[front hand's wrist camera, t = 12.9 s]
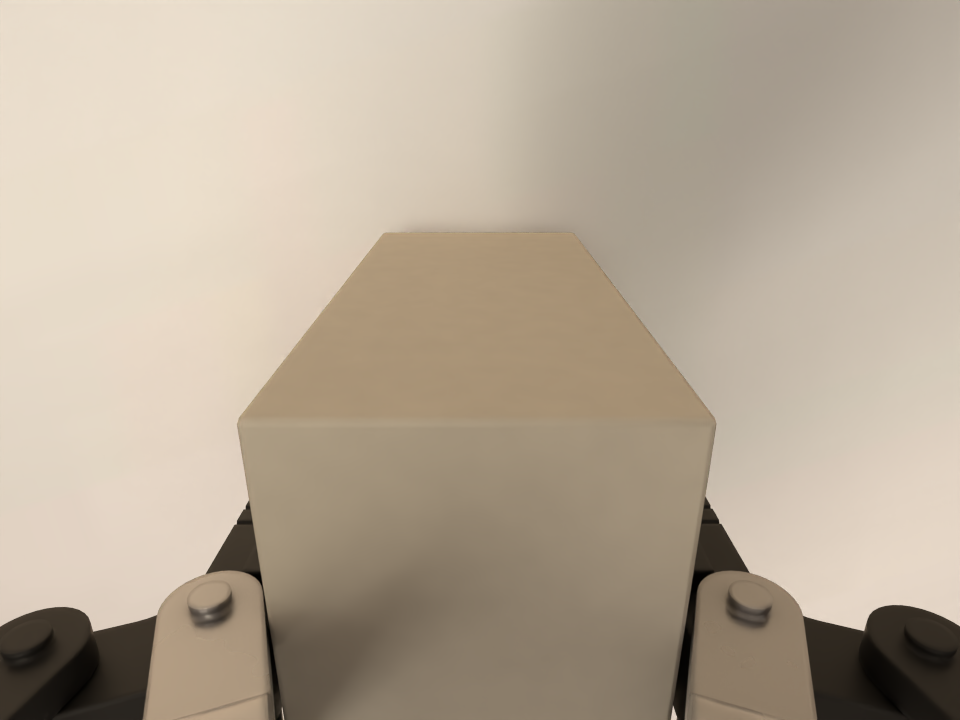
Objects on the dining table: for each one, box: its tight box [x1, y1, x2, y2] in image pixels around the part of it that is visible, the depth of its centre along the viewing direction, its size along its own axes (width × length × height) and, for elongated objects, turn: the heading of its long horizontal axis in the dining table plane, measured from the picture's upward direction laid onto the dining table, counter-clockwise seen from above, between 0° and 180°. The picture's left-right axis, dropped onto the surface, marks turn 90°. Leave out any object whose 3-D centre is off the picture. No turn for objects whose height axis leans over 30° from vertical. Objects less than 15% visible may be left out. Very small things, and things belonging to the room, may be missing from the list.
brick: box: [237, 233, 716, 720], centre depth 13 cm, size 5×8×11 cm, turn 0°
